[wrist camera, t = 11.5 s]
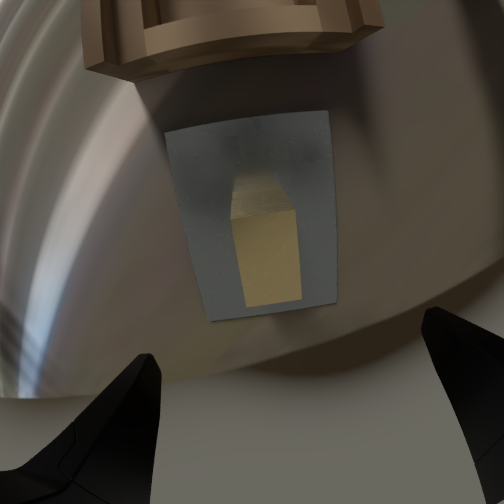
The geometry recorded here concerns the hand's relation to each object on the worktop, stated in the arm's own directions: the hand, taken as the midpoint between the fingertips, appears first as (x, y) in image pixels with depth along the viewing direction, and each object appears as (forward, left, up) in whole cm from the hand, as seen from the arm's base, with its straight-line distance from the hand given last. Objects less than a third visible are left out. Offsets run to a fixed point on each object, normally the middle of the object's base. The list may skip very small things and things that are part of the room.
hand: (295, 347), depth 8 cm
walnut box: (0, -18, -12) cm, 22 cm away
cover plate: (0, 0, -12) cm, 12 cm away
